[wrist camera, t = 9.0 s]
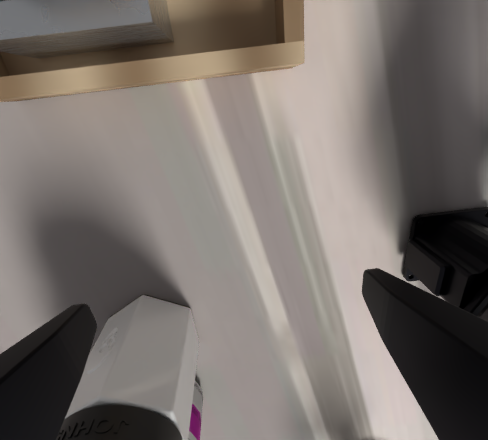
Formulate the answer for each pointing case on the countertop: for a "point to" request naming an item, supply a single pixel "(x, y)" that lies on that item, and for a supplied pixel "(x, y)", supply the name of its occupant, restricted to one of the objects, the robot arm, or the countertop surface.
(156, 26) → the socket
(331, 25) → the countertop surface
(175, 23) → the oak box
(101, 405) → the jar
